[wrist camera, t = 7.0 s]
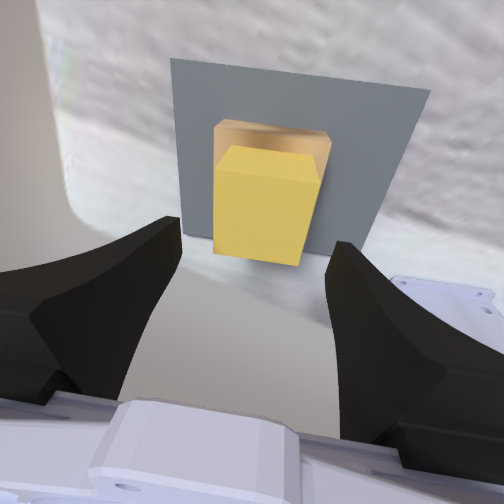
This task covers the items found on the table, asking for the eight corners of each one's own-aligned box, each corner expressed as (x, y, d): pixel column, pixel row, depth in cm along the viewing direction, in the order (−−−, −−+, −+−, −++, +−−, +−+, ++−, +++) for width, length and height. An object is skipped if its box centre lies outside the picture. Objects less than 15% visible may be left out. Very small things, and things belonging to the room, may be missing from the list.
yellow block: (312, 156, 15) (320, 183, 12) (296, 226, 18) (298, 266, 15) (231, 145, 16) (214, 168, 12) (227, 216, 19) (213, 253, 15)
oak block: (325, 132, 17) (332, 143, 15) (303, 221, 22) (305, 241, 19) (224, 118, 18) (213, 127, 15) (221, 210, 22) (213, 228, 19)
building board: (426, 89, 16) (430, 90, 15) (355, 255, 24) (356, 259, 23) (173, 58, 16) (170, 58, 16) (185, 230, 24) (183, 234, 24)
